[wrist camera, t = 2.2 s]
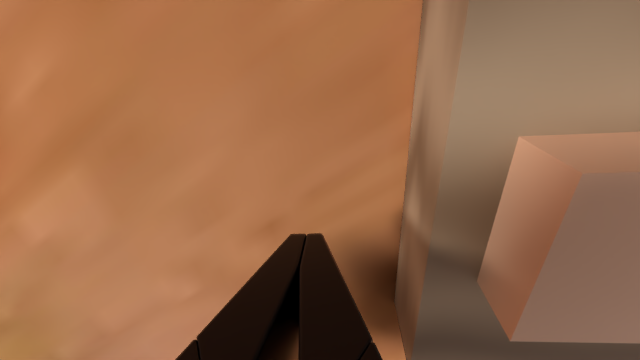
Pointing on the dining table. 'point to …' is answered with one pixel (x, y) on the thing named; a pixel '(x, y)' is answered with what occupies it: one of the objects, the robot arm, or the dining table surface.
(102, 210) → the dining table surface
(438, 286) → the walnut board
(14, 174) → the dining table surface
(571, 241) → the terracotta tile
